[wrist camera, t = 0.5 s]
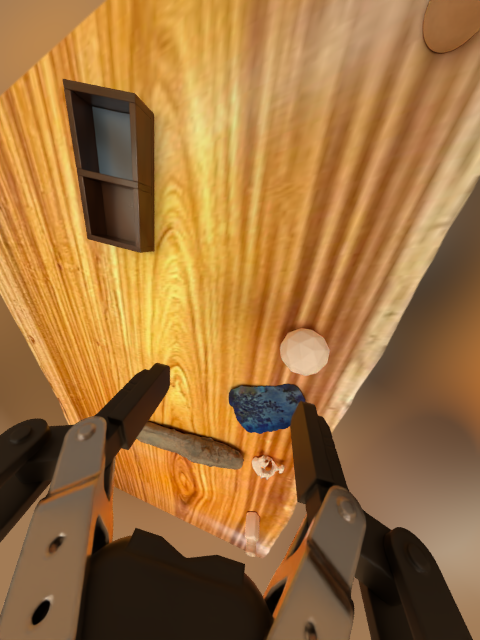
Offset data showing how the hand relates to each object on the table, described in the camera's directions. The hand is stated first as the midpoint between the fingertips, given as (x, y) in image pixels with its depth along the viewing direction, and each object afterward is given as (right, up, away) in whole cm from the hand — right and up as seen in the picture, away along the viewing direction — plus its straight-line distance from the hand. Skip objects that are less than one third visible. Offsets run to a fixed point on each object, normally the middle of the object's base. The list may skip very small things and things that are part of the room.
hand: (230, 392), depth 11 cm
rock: (+7, -16, +31) cm, 36 cm away
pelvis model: (+8, -36, +40) cm, 54 cm away
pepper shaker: (+6, -68, +56) cm, 88 cm away
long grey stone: (-15, -31, +42) cm, 55 cm away
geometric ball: (+12, +1, +23) cm, 26 cm away
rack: (-17, +25, +17) cm, 35 cm away
